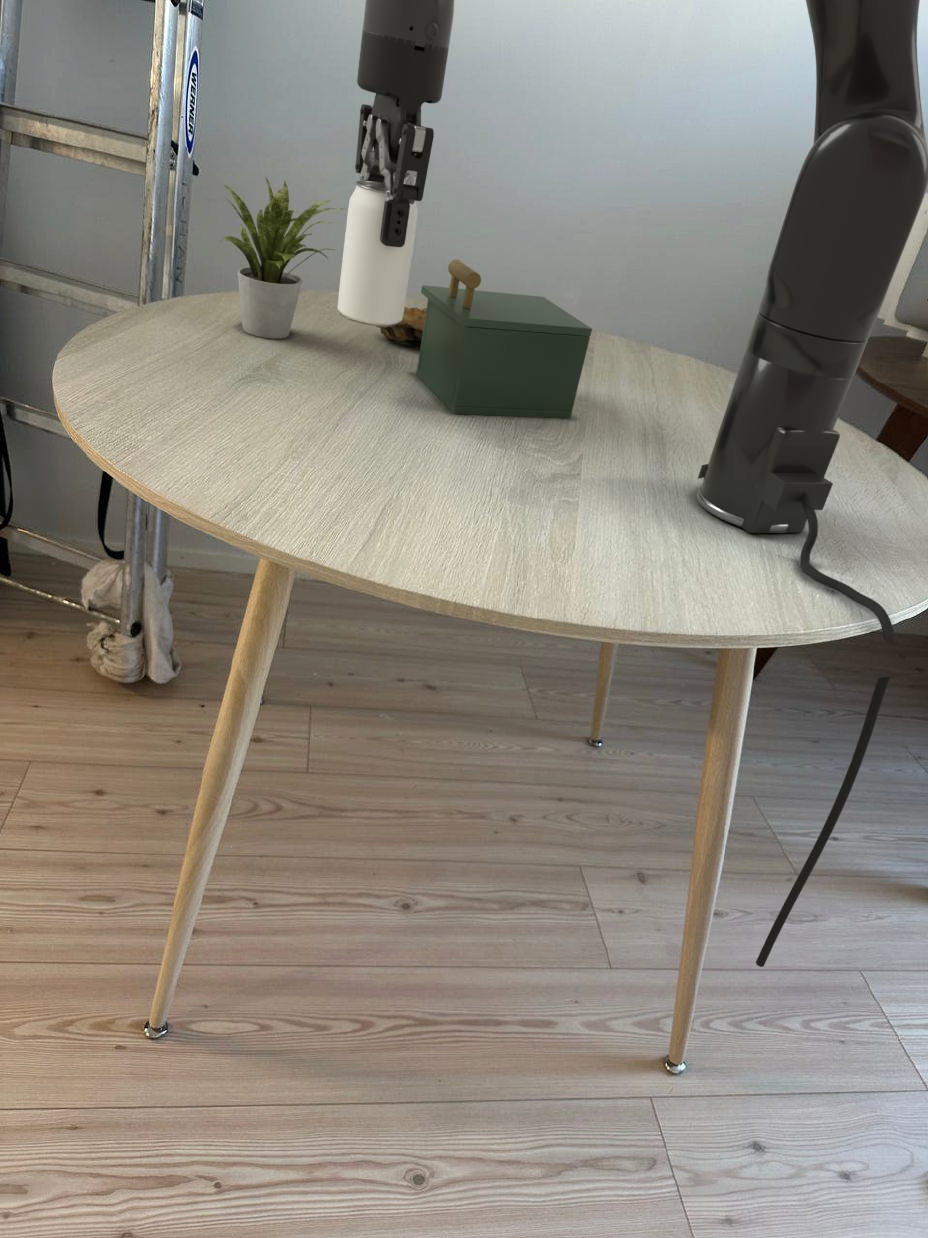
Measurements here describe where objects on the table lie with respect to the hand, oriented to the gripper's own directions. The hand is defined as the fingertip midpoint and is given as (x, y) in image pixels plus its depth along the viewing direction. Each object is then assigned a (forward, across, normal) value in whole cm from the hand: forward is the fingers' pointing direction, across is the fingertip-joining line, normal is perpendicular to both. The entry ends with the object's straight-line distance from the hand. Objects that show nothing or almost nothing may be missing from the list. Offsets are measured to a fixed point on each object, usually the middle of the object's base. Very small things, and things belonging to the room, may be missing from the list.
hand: (380, 235), depth 93 cm
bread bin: (+15, 0, +15) cm, 21 cm away
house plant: (+15, -17, -5) cm, 23 cm away
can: (+8, 0, 0) cm, 8 cm away
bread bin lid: (+6, 0, +14) cm, 16 cm away
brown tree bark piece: (+15, -18, +15) cm, 28 cm away
